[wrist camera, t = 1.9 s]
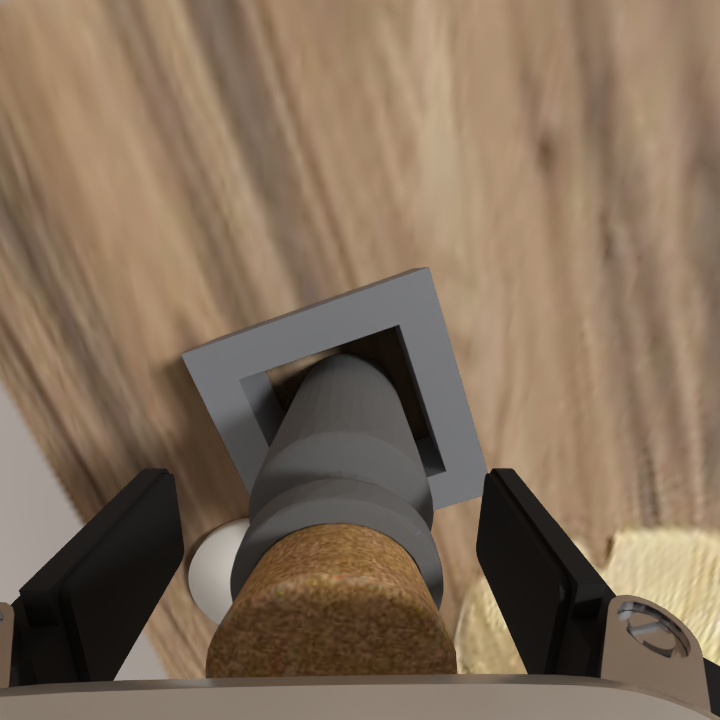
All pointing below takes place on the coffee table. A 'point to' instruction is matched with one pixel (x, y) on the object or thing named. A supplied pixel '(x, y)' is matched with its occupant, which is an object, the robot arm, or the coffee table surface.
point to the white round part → (216, 569)
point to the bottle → (337, 542)
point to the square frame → (329, 329)
